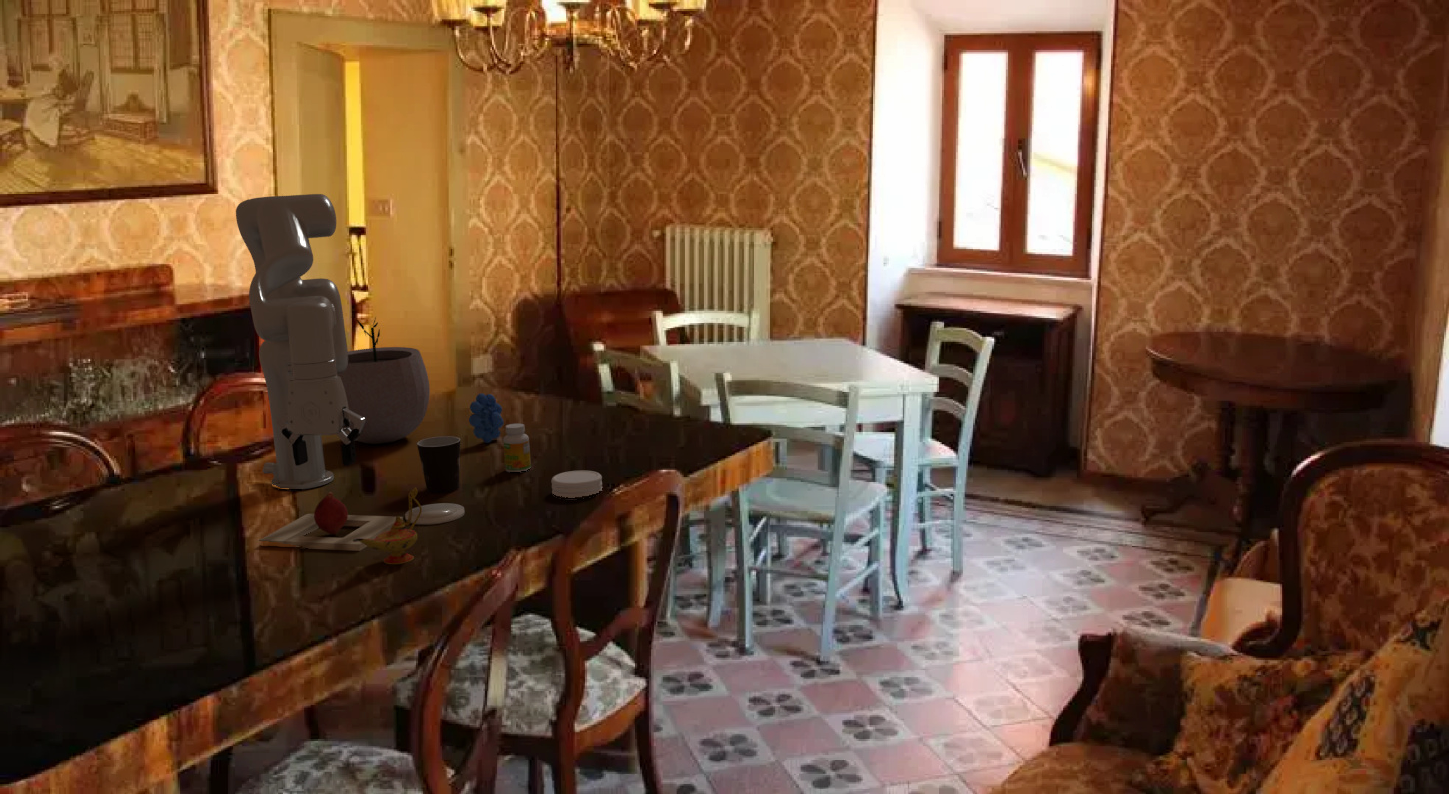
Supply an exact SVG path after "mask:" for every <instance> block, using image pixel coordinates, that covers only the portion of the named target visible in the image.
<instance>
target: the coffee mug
mask: <svg viewBox="0 0 1449 794" xmlns="http://www.w3.org/2000/svg"><path fill="white" fill-rule="evenodd" d="M416 446H417V451H418V454H419V459H420V464H421V468H422V474H423V478H424V481H425V487H426V491H427V493H430V494H446V493H447V494H448V493H453V492H455V491H458V490H459V489H460V469H461V468H460V467H461V466H460V464H461V459H460V458H461V438H460V437H457V436H452V435H451V436H450V435H449V436H447V435H446V436H433V437H427V438H423V439H421V440H419V441H417V443H416ZM458 488H459V489H458Z"/></svg>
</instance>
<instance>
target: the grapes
mask: <svg viewBox="0 0 1449 794" xmlns="http://www.w3.org/2000/svg"><path fill="white" fill-rule="evenodd" d="M469 409H470V411H471V413H472V414H471V415H469V418H468V422H469V424H470V425H471V426H472V427H473V430H472V431H473V435H474V436H475V437H476V438H477V439H481V440H482V441H483V443H486V444H489V443H492V441H493V440H495V439H498V438H500V436H501V431H500V428H502V427H503V426H504V424H505V423H504V419H503V417H502V415H501V414H502V412H503V408H502V405H500V404H499V403H497V400H496V398H495V396H494V395H493V394H491V393H489V394H488V393H487V394H484V393H479V394H477V396H476V397H475V401H472V402H471V403H470V405H469Z"/></svg>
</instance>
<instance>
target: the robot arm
mask: <svg viewBox="0 0 1449 794" xmlns="http://www.w3.org/2000/svg"><path fill="white" fill-rule="evenodd" d="M235 220H236V224H237V228H238V231H239V233H240V237H241V239H242V241H243V243H244V244H245V246H246V248H247V249H248V252H249V253H250V256H251V258H252V260H253V261H252V262H253V265H254V269H255V273H254V275H253V277H252V280H251V283H250V285H249V291H248V298H249V306H250V312H251V317H252V322H253V326H254V330H255V332H256V334H257V336H258V337H259V339H262V340H263V342H262V343H261V344H260V346H259V351H258V357H259V363H260V367H261V370H262V373H263V377H264V380H265V385H266V390H267V396H268V403H269V408H270V409H269V410H270V412H269V413H270V416H271V417H270V418H271V419H270V420H271V425H272V434H273V435H272V436H273V442H274V451H275V461H276V462H265V463H264V464H263V468H262V473H263V474H268V475H269V474H272V475H273V478H272V479H271V480H272V481H271V482H270V484H271V483H272V484H273V485H276V486H278V487H280V488H289V489H302V490H308V489H313V488H318V487H322V486H324V485H327V484H330V483H331V482H332V481H333V480H334V478H335V476H334V473H333V472H332V471H331V470H326V465H325V456H324V447H323V446H324V445H323V440H322V436H334V435H336V436H337V437H338V438H339V439H340V440H341V442H343V443H342V444H340V446H341V449H340V450H341V457H342V465H343V466H344V467H349V466H351V465H352V464H355V463H356V459H357V453H356V444H355V443H356V441H357V438H358V436H359V435H360V434H361V433H362V429H363V427H364V424H365V421H366V420H365V418H364V417H362V416H360V415H358V414H356V413H354V412H352V411H350V410H349V407H348V402H347V397H346V393H345V389H344V386H343V383H342V380H341V377H340V376H337V375H338V374H341V373H343V372H344V371H345V370H346V369H347V366H348V343H347V336H346V335H347V334H346V328H345V320H344V313H343V305H342V299H341V295H340V291H339V288H338V287H337V284H335V282H334V281H332V280H330V279H329V278H321V277H320V278H310V279H309V278H307V279H302V278H301V277H303V276H304V275H305V274H307V273H308V272H309V271H310V270H311V268H312V266H313V263H314V255H313V251H312V247H311V243H310V239H316V238H318V239H319V238H329V237H331V236H333V235H334V234H335V232H336V229H337V215H336V210H335V207H334V204H333V203H332V201H331V199H330V198H329V197H328V196H327V195H326V194H322V193H309V194H295V195H294V194H293V195H276V196H275V195H273V196H272V195H271V196H261V197H253V198H249V199H246V200H244V201H242V202H239V204H238V205H237V207H236V209H235ZM350 421H352V422H353V423H354V428H353V430H351V429H350V428H349V427H350ZM272 484H271V485H272Z"/></svg>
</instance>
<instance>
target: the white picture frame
mask: <svg viewBox="0 0 1449 794" xmlns="http://www.w3.org/2000/svg"><path fill="white" fill-rule="evenodd" d="M396 517H397V516H389V515H387V516H385V515H360V514H359V515H356V514H348V518H347V521H346V523H345V524H344V526H343V527H354V528H355V527H357V529H355V530H354V531H351V532H350V533H349V534H346V535H345V536H343V537H331V536H330V537H329V536H328V537H327V536H325V537H324V536H308V535H309V534H311V533H313V532H315V531H317V530H318V529H320V528H319V527H318V525H317V524H316V522H315V519H314V513H307V514H304V515H302V516H300V517H299V518H297V519H295V520H293V521H292V522H290V523H288V524H286V525H284V526H282V527H280V528H278V529H277V530H275V531H274V532H270V533H269V534H268V535H266V536H264V537H262V538H260V539H259V540H258V541H269V542H278V543H283V544H291V545H295V546H302V547H305V548H308V549H309V550H334V551H357V552H358V551H359V552H360V551H362V550H364V549H365V548H367V547H368V546H366V545H365V544H363V543H361V542H359V541H357V542H353V540H354V539H371V540H373V539H375V538H376V537H377V536H378V535H379V534H381V533H384V532H386V531H390V530H391V527H392V525H393V524H394V523H395V520H396ZM399 517H400V519H402V520H403V521H404V517H403V516H399ZM403 521H401V522H403ZM358 527H359V528H358ZM310 532H311V533H310ZM308 533H309V534H308ZM306 534H307V535H306ZM303 535H306V536H303ZM305 548H304V549H305Z"/></svg>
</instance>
